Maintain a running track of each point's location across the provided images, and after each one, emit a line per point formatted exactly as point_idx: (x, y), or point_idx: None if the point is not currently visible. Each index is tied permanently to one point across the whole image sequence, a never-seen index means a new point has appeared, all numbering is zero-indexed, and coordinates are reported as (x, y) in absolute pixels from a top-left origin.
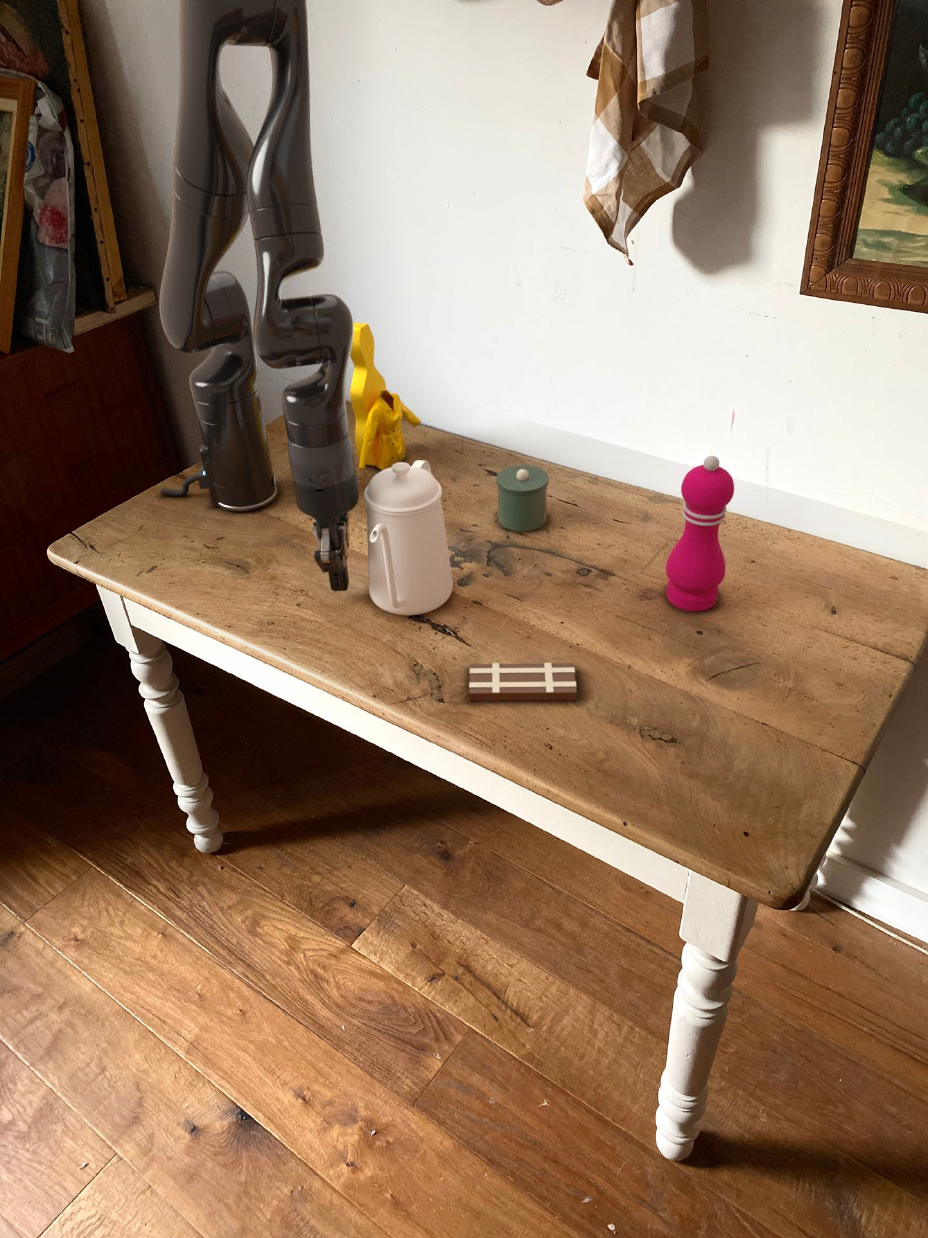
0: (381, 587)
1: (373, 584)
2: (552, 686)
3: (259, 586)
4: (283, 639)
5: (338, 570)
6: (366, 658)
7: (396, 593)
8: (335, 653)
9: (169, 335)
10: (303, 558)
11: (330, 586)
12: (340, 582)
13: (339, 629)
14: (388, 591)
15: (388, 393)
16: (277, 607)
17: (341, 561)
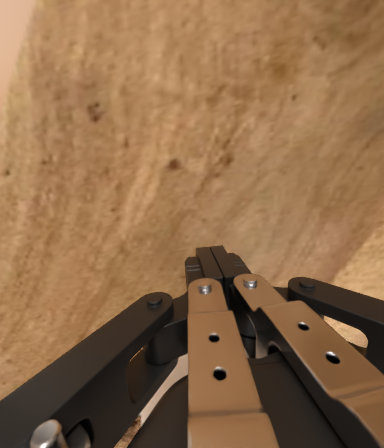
0: (155, 393)
1: (174, 368)
2: None
3: (245, 37)
4: (39, 160)
5: (133, 360)
6: (20, 335)
7: (141, 418)
8: (20, 281)
9: None
10: (354, 133)
11: (197, 250)
12: (187, 289)
13: (98, 271)
14: (146, 405)
15: None
16: (159, 113)
17: (158, 385)
